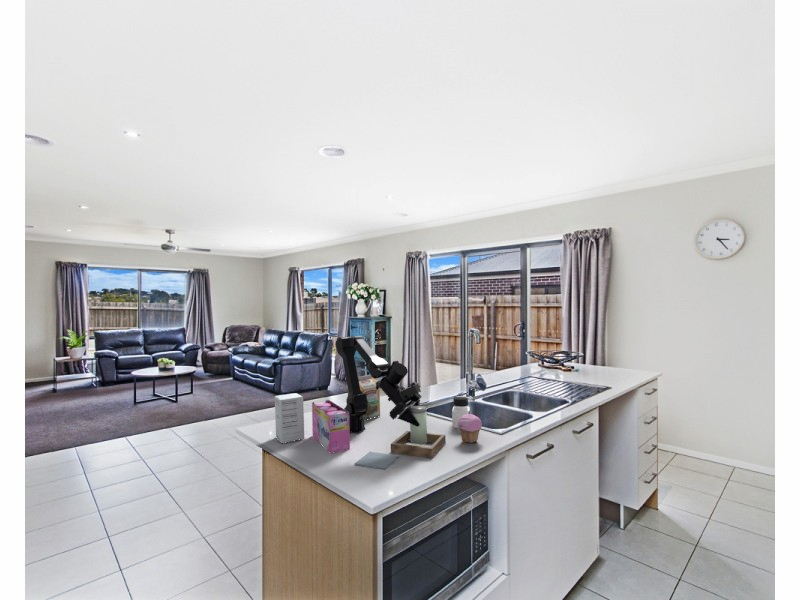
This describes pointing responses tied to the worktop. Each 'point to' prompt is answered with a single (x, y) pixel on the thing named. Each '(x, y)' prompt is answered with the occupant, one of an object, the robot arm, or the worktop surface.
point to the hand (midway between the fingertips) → (421, 423)
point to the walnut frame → (402, 448)
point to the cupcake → (469, 427)
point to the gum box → (331, 426)
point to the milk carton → (370, 396)
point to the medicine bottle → (459, 409)
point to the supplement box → (289, 417)
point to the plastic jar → (419, 433)
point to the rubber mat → (376, 460)
